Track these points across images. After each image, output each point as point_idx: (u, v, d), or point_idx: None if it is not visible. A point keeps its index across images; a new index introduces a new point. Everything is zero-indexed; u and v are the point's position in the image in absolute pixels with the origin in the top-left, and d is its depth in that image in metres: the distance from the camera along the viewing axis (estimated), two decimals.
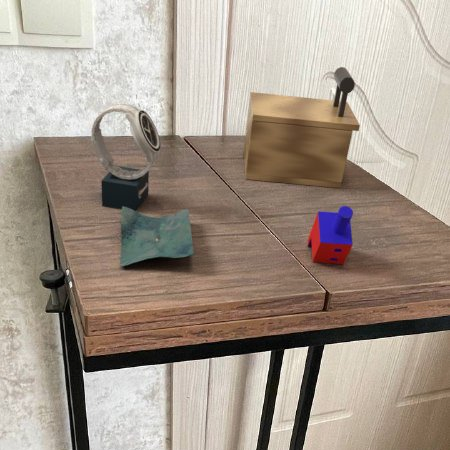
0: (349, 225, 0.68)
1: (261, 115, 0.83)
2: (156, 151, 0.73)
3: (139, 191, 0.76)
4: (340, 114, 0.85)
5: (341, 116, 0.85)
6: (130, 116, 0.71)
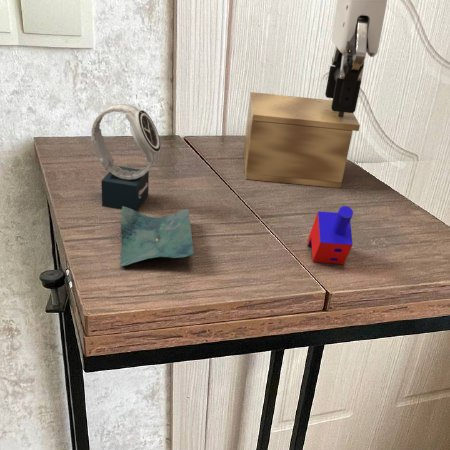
0: (349, 225, 0.68)
1: (261, 115, 0.83)
2: (156, 151, 0.73)
3: (139, 191, 0.76)
4: (340, 114, 0.85)
5: (341, 116, 0.85)
6: (130, 116, 0.71)
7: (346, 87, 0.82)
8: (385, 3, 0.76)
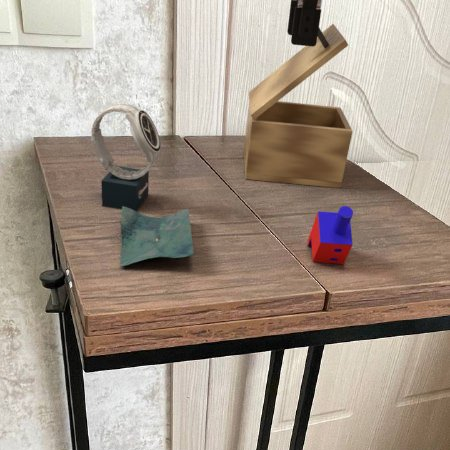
0: (349, 225, 0.68)
1: (257, 109, 0.82)
2: (156, 151, 0.73)
3: (139, 191, 0.76)
4: (325, 45, 0.80)
5: (327, 46, 0.80)
6: (130, 116, 0.71)
7: (305, 17, 0.77)
8: None
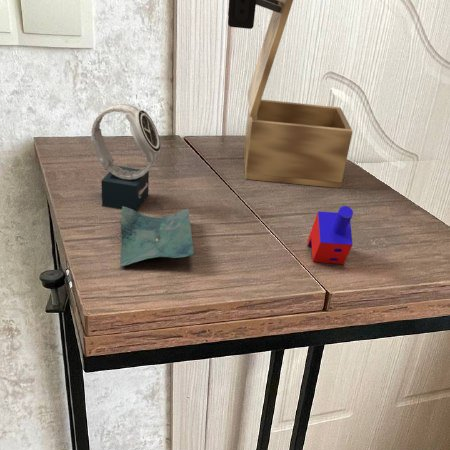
0: (349, 225, 0.68)
1: (252, 107, 0.82)
2: (156, 151, 0.73)
3: (139, 191, 0.76)
4: (277, 10, 0.78)
5: (279, 9, 0.78)
6: (130, 116, 0.71)
7: None
8: None
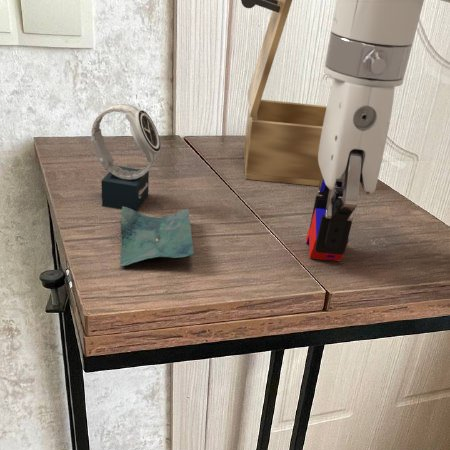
0: None
1: (252, 107, 0.82)
2: (156, 151, 0.73)
3: (139, 191, 0.76)
4: (276, 10, 0.78)
5: (279, 9, 0.77)
6: (130, 116, 0.71)
7: (333, 228, 0.65)
8: (385, 135, 0.58)
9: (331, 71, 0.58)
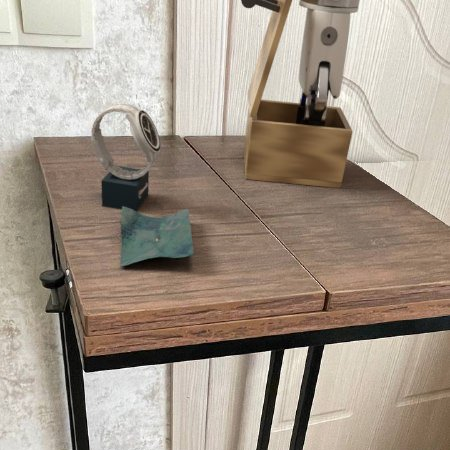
0: None
1: (252, 107, 0.82)
2: (156, 151, 0.73)
3: (139, 191, 0.76)
4: (276, 10, 0.78)
5: (279, 9, 0.77)
6: (130, 116, 0.71)
7: None
8: (345, 49, 0.79)
9: (303, 3, 0.78)
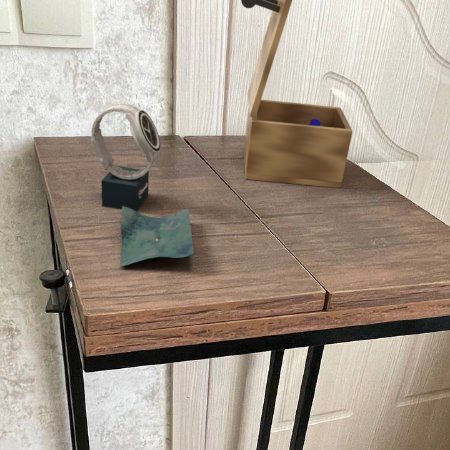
0: None
1: (252, 107, 0.82)
2: (156, 151, 0.73)
3: (139, 191, 0.76)
4: (276, 10, 0.78)
5: (279, 9, 0.77)
6: (130, 116, 0.71)
7: None
8: None
9: None
